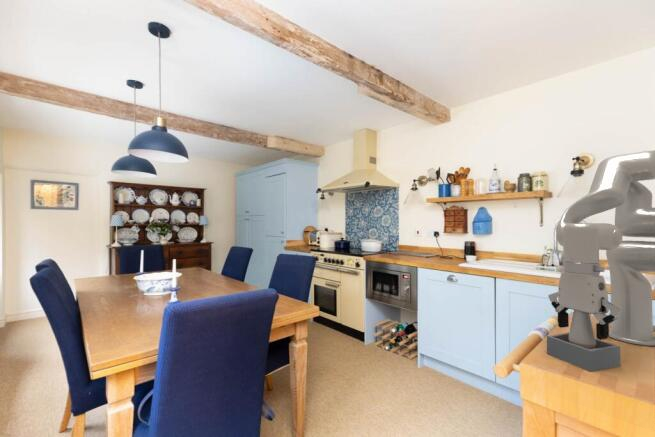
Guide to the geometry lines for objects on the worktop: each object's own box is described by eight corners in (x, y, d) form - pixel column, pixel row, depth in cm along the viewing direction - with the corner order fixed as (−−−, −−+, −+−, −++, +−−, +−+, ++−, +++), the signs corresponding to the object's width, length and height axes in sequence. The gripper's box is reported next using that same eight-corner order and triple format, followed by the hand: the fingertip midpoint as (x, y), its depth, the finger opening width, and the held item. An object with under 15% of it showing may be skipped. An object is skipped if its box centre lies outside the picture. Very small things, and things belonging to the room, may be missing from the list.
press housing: (574, 349, 89) (574, 332, 89) (620, 365, 78) (620, 346, 78) (546, 353, 85) (546, 335, 85) (591, 371, 75) (590, 351, 75)
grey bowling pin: (601, 354, 78) (601, 304, 79) (576, 352, 80) (576, 303, 80) (587, 346, 84) (586, 299, 85) (563, 344, 85) (563, 298, 86)
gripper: (629, 273, 75) (631, 342, 75) (558, 264, 92) (558, 321, 91) (609, 274, 73) (610, 346, 73) (539, 265, 90) (540, 324, 89)
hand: (581, 332), depth 82 cm, fingers open, 9 cm apart
